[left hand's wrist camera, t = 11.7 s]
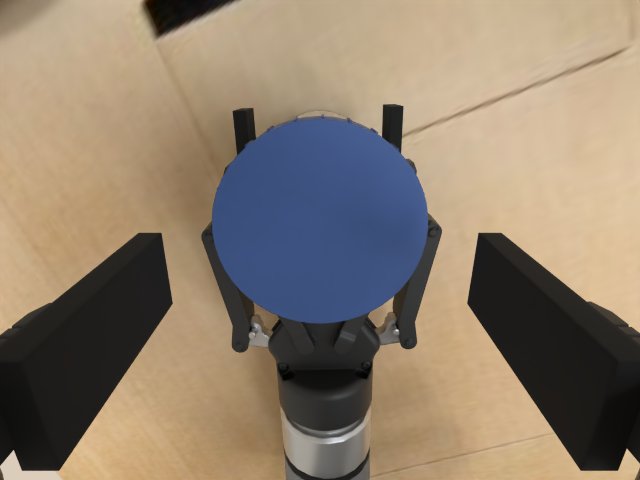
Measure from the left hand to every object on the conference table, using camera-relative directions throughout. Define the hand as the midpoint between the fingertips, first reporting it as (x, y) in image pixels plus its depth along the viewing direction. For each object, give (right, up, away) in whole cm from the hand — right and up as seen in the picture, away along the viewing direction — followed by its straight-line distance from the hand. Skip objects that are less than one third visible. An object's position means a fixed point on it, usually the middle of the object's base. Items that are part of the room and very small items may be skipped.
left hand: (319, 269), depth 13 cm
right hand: (0, +9, +10) cm, 14 cm away
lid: (0, +1, +4) cm, 4 cm away
